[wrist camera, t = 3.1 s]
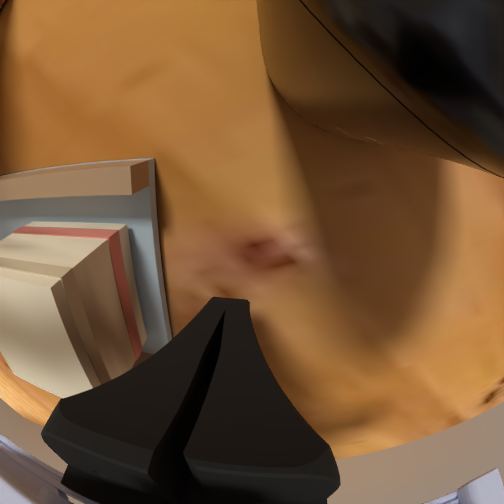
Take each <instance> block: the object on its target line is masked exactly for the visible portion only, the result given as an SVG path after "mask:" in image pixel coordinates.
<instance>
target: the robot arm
mask: <svg viewBox="0 0 504 504" xmlns="http://www.w3.org/2000/svg"><path fill="white" fill-rule="evenodd" d="M41 435H42V438H43V440H44V442H45V443H46V444H47V445H48V446H49V447H50V448H51V449H52V450H53V451H54V452H55V453H56V454H57V455H58V456H59V457H60V458H61V459H63V460H64V461H65V462H66V463H67V464H68V466H67V469H66V471H65V473H64V474H63V473H61V472H59V471H58V470H56V469H54V468H52V467H50V466H49V465H47V464H45V463H44V462H42V461H40V460H39V459H37V458H35V457H34V456H32V455H30V454H29V453H27V452H26V451H24V450H23V449H21V448H20V447H18V446H17V445H16V444H14V443H13V442H11V441H10V440H8V439H7V438H6V437H4V436H3V435H2V434H0V504H73V503H71V502H70V501H69V500H68V497H67V495H68V496H71V497H72V498H74V499H76V500H78V501H80V502H82V503H84V504H327V498H328V497H329V496H330V495H332V494H333V493H334V492H335V491H336V490H337V489H338V488H339V486H340V475H339V471H338V467H337V464H336V461H335V458H334V455H333V453H332V450H331V448H330V446H329V445H328V444H327V443H326V442H325V441H324V440H323V439H322V438H321V437H320V436H319V435H318V434H317V433H316V432H315V431H314V430H313V428H312V427H311V426H310V425H309V424H308V423H307V422H306V421H305V419H304V418H303V417H302V416H301V415H300V414H299V412H298V411H297V410H296V408H295V407H294V406H293V404H292V403H291V402H290V400H289V399H288V397H287V396H286V395H285V393H284V392H283V390H282V389H281V387H280V386H279V384H278V382H277V381H276V379H275V377H274V376H273V374H272V372H271V370H270V368H269V366H268V364H267V362H266V360H265V358H264V356H263V353H262V351H261V349H260V346H259V344H258V341H257V338H256V335H255V332H254V329H253V325H252V321H251V317H250V302H249V301H248V300H245V299H232V298H221V297H213V298H211V299H210V300H209V301H208V303H207V304H206V305H205V306H204V307H203V308H202V310H201V311H200V312H199V313H198V314H197V315H196V316H195V317H194V318H193V319H192V320H191V321H190V322H189V323H188V324H187V325H186V326H185V328H184V329H183V330H181V331H180V332H179V333H178V334H177V335H176V336H175V337H174V338H173V339H172V340H170V341H169V342H168V343H167V344H166V345H165V346H163V347H162V348H161V349H160V350H159V351H157V352H156V353H155V354H153V355H152V356H150V357H149V358H148V359H146V360H145V361H143V362H142V363H140V364H139V365H137V366H136V367H134V368H132V369H131V370H129V371H127V372H125V373H124V374H122V375H120V376H118V377H116V378H114V379H112V380H110V381H108V382H106V383H104V384H102V385H99V386H97V387H95V388H92V389H90V390H87V391H84V392H81V393H78V394H75V395H72V396H69V397H66V398H63V399H61V400H60V401H59V402H58V404H57V406H56V407H55V409H54V410H53V412H52V414H51V416H50V417H49V419H48V421H47V423H46V425H45V426H44V428H43V430H42V432H41ZM66 494H67V495H66ZM423 504H504V487H503V483H502V480H501V477H500V474H499V471H498V469H497V468H494V469H492V470H491V471H489V472H487V473H485V474H483V475H481V476H479V477H477V478H475V479H473V480H471V481H470V482H468V483H466V484H465V485H463V486H462V487H460V488H459V489H458V490H457V491H454V492H452V493H450V494H447V495H445V496H442V497H440V498H437V499H434V500H431V501H429V502H426V503H423Z"/></svg>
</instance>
